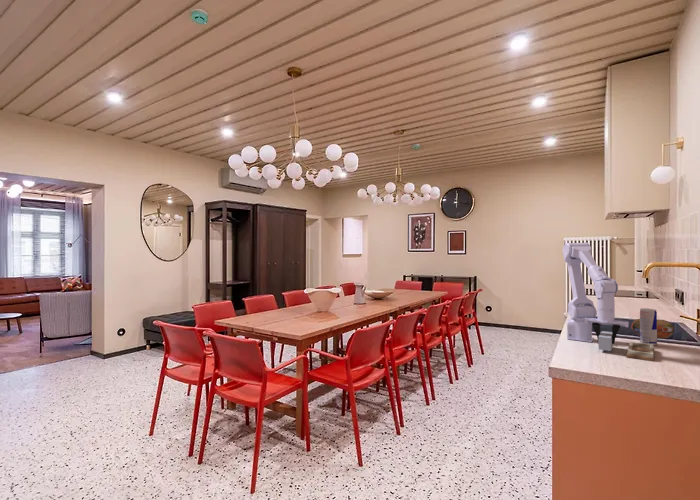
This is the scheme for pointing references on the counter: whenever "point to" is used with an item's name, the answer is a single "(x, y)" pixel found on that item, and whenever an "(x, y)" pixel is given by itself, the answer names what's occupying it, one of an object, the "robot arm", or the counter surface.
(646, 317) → the beverage can
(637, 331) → the tin
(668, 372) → the counter surface
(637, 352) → the framed wooden panel
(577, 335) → the robot arm
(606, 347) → the grey box
